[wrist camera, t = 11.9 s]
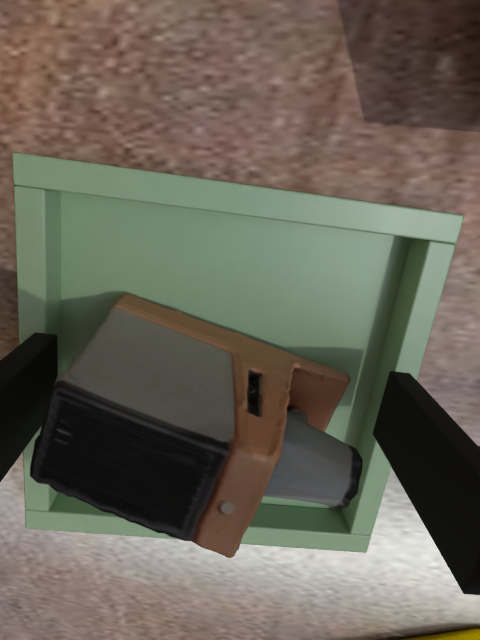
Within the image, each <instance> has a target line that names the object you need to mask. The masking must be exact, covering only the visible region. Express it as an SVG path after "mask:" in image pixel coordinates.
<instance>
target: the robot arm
mask: <svg viewBox="0 0 480 640" xmlns="http://www.w3.org/2000/svg"><path fill="white" fill-rule="evenodd" d="M57 376H58V349H57V335H54V334H45V333H36V332H35V333H34V334H32V335H31V336H30V337H29V338H28V339H26V340H25V341H24V342H23V343H22V344H20V345H19V346H18V347H17V348H15V349H14V350H13V351H12V352H11V353H9V354H8V355H7V356H6V357H5V358H3V359H2V360H1V361H0V482H1V480H2V479H3V478H4V476H5V475H6V474H7V472H8V471H9V470H10V468H11V467H12V465H13V464H14V463H15V461H16V460H17V459H18V457H19V456H20V455H21V453H22V452H23V450H24V449H25V448H26V446H27V445H28V444H29V442H30V441H31V440H32V438H33V437H34V435H35V434H36V433H37V431H38V430H39V429H40V427H41V426H42V422H43V419H44V415H45V412H46V409H47V404H48V400H49V398H50V396H51V394H52V391H53V388H54V385H55V381H56V379H57ZM373 435H374V437H375V439H376V441H377V442H378V444H379V446H380V448H381V449H382V451H383V453H384V455H385V456H386V458H387V460H388V462H389V463H390V465H391V467H392V469H393V470H394V472H395V474H396V476H397V477H398V479H399V481H400V483H401V485H402V486H403V488H404V490H405V492H406V493H407V495H408V497H409V499H410V500H411V502H412V504H413V506H414V507H415V509H416V511H417V513H418V514H419V516H420V518H421V520H422V521H423V523H424V525H425V527H426V528H427V530H428V532H429V534H430V535H431V537H432V539H433V541H434V542H435V544H436V546H437V548H438V549H439V551H440V553H441V555H442V556H443V558H444V560H445V562H446V563H447V565H448V567H449V569H450V570H451V572H452V574H453V576H454V577H455V579H456V581H457V583H458V584H459V586H460V588H461V590H462V591H463V593H464V594H474V595H480V446H477V445H476V444H475V443H474V442H473V441H472V439H471V438H470V437H469V436H468V435H467V434H466V433H465V432H464V431H463V430H462V429H461V428H460V427H459V426H458V424H457V423H456V422H455V421H454V420H453V419H452V418H451V417H450V416H449V415H448V414H447V413H446V412H445V411H444V409H443V408H442V407H441V406H440V405H439V404H438V403H437V402H436V401H435V400H434V399H433V398H432V397H431V396H430V394H429V393H428V392H427V391H426V390H425V389H424V388H423V387H422V386H421V385H420V384H419V383H418V382H417V381H416V379H415V378H414V377H413V376H412V375H411V374H410V373H404V372H395V371H390V372H389V376H388V379H387V383H386V387H385V390H384V394H383V397H382V401H381V405H380V408H379V412H378V416H377V419H376V423H375V426H374V430H373Z"/></svg>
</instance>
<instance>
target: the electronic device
mask: <svg viewBox="0 0 480 640" xmlns="http://www.w3.org/2000/svg"><path fill="white" fill-rule="evenodd" d="M350 381H351V378H350V376H349V375H348V374H347V373H346V372H342V371H339V370H335V369H333V368H331V367H328V366H326V365H323V364H318V363H315V362H313V361H310V360H308V359H305V358H302V357H300V356H297V355H294V354H292V353H289V352H286V351H283V350H281V349H278V348H275V347H272V346H270V345H267V344H265V343H262V342H260V341H257V340H255V339H252V338H250V337H246V336H245V335H244V334H241V333H239V332H233V331H231V330H228V329H226V328H223V327H221V326H217V325H214V324H210V323H207V322H205V321H201V320H198V319H195V318H193V317H190V316H187V315H185V314H182V313H181V312H179V311H178V310H171V309H168V308H165V307H162V306H159V305H156V304H154V303H151V302H148V301H145V300H142V299H140V298H138V297H137V296H134V295H128V294H123V295H122V296H121V297H120V298H119V299H118V300H117V301H116V302H115V303H114V305H113V306H112V307H111V308H110V309H109V311H108V316H107V317H106V319H105V320H104V322H103V323H102V324H101V325H100V327H99V328H98V329H97V331H96V333H95V334H94V335H93V337H92V338H91V339H90V340H89V341H88V342H87V344H86V345H85V346H84V348H83V349H82V351H81V352H80V354H79V355H77V356H75V357H73V360H72V363H71V365H70V366H69V367H68V369H67V370H66V371H65V372H62V373H61V374H59V375H58V376H57V379H56V381H55V385H54V388H53V391H52V394H51V396H50V398H49V400H48V404H47V409H46V412H45V415H44V419H43V422H42V427H41V431H40V435H39V436H38V437H37V438H36V440H35V444H34V450H33V455H32V460H31V465H30V477H32V478H33V479H34V480H35V481H36V482H37V483H41V484H48V485H49V486H50V487H52V488H53V489H54V490H55V491H57V492H60V493H63V494H65V495H66V496H68V497H74V498H76V499H78V500H80V501H83V502H86V503H88V504H90V505H92V506H93V507H95V508H97V509H99V510H101V511H103V512H107V513H113V514H114V515H116V516H118V517H120V518H123V519H125V520H127V521H129V522H131V523H136V524H138V525H141V526H143V527H145V528H148V529H150V530H153V531H155V532H157V533H165V534H166V535H168V536H170V537H174V538H178V539H181V540H184V541H192V542H194V543H196V544H197V545H199V546H201V547H203V548H206V549H209V550H212V551H215V552H217V553H220V554H222V555H225V556H226V557H228V558H232V557H233V556H234V555H235V553H236V551H237V550H238V549H239V546H240V543H241V540H242V537H243V534H244V533H245V532H246V530H247V528H248V527H249V525H250V523H251V522H252V521H253V519H254V516H255V513H256V511H257V509H258V507H259V505H260V503H261V500H262V498H263V496H266V497H274V498H283V499H292V500H300V501H306V502H313V503H320V504H324V505H328V506H331V507H334V508H335V509H337V510H341V509H344V508H347V507H348V506H349V504H350V501H351V500H352V499H353V498H354V497H355V496H356V495H357V493H358V488H359V481H360V477H361V473H362V466H363V459H362V457H361V456H360V454H359V452H358V451H357V449H356V448H354V447H352V446H350V445H348V444H346V443H344V442H342V441H340V440H338V439H337V438H335V437H333V436H331V435H329V434H327V433H325V432H324V431H325V430H326V428H327V427H328V424H329V422H330V420H331V418H332V415H333V413H334V411H335V409H336V407H337V406H338V404H339V402H340V400H341V398H342V396H343V394H344V392H345V390H346V388H347V386H348V384H349V383H350Z"/></svg>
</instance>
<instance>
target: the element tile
mask: <svg viewBox="0 0 480 640" xmlns="http://www.w3.org/2000/svg"><path fill="white" fill-rule="evenodd" d="M401 640H480V628H477V629H467V630H460V631H453V632H447V633H440V634H434V635H427V636H420V637H414V638H407V639H401Z"/></svg>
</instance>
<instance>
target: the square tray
mask: <svg viewBox="0 0 480 640" xmlns="http://www.w3.org/2000/svg"><path fill="white" fill-rule="evenodd" d="M13 182H14V184H15V185H17V186H14V203H15V232H16V261H17V290H18V319H19V345H20V344H22V343H23V342H24V341H25V340H26V339H28V338H29V337H30V336H31V335H32V334H34V333H35V332H36V333H45V334H54V335H57V349H58V375H59V374H61V373H62V372H65V371H66V370H67V369H68V367H69V366H70V365H71V363H72V360H73V357H75V356H77V355H79V354H80V352H81V351H82V349H83V348H84V346H85V345H86V344H87V342H88V341H89V340H90V339H91V338H92V337H93V335H94V334H95V333H96V331H97V329H98V328H99V327H100V325H101V324H102V323H103V322H104V320H105V319H106V317H107V316H108V311H109V309H110V308H111V307H112V306H113V305H114V303H115V302H116V301H117V300H118V299H119V298H120V297H121V296H122V295H123V294H128V295H134V296H137V297H138V298H140V299H142V300H145V301H148V302H151V303H154V304H156V305H159V306H162V307H165V308H168V309H171V310H178V311H179V312H181V313H182V314H185V315H187V316H190V317H193V318H195V319H198V320H201V321H205V322H207V323H210V324H214V325H217V326H221V327H223V328H226V329H228V330H231V331H233V332H239V333H241V334H244V335H245V336H246V337H250V338H252V339H255V340H257V341H260V342H262V343H265V344H267V345H270V346H272V347H275V348H278V349H281V350H283V351H286V352H289V353H292V354H294V355H297V356H300V357H302V358H305V359H308V360H310V361H313V362H315V363H318V364H323V365H326V366H328V367H331V368H333V369H335V370H339V371H342V372H346V373H347V374H348V375H349V376H350V378H351V381H350V383H349V384H348V386H347V388H346V390H345V392H344V394H343V396H342V398H341V400H340V402H339V404H338V406H337V407H336V409H335V411H334V413H333V415H332V418H331V420H330V422H329V424H328V427H327V428H326V430H325V431H324V432H325V433H327V434H329V435H331V436H333V437H335V438H337V439H338V440H340V441H342V442H344V443H346V444H348V445H350V446H352V447H354V448H356V449H357V451H358V452H359V454H360V456H361V457H362V459H363V466H362V473H361V477H360V481H359V488H358V493H357V495H356V496H355V497H354V498H353V499H352V500H351V501H350V504H349V506H348V507H347V508H344V509H341V510H337V509H335V508H334V507H331V506H328V505H324V504H320V503H313V502H306V501H300V500H292V499H283V498H274V497H266V496H263V498H262V500H261V503H260V505H259V507H258V509H257V511H256V513H255V516H254V519H253V521H252V522H251V523H250V525H249V527H248V528H247V530H246V532H245V533H244V534H243V537H242V540H241V543H240V544H252V545H266V546H280V547H294V548H308V549H322V550H336V551H350V552H364V553H365V552H367V548H368V545H369V541H370V538H371V534H372V531H373V528H374V524H375V521H376V517H377V514H378V511H379V507H380V504H381V500H382V497H383V493H384V490H385V486H386V483H387V480H388V476H389V473H390V469H391V465H390V463H389V462H388V460H387V458H386V456H385V455H384V453H383V451H382V449H381V448H380V446H379V444H378V442H377V441H376V439H375V437H374V435H373V430H374V426H375V423H376V419H377V416H378V412H379V408H380V405H381V401H382V397H383V394H384V390H385V387H386V383H387V379H388V376H389V372H390V371H395V372H404V373H410V374H411V375H412V376H413V377H414V378H415V379H416V380H417V377H418V373H419V370H420V366H421V363H422V359H423V356H424V353H425V349H426V346H427V342H428V339H429V335H430V332H431V329H432V325H433V322H434V318H435V315H436V311H437V308H438V305H439V301H440V298H441V294H442V291H443V287H444V284H445V281H446V277H447V274H448V270H449V267H450V263H451V260H452V257H453V253H454V250H455V243H457V240H458V236H459V233H460V229H461V226H462V223H463V219H464V215H462V214H455V213H447V212H440V211H433V210H426V209H419V208H412V207H404V206H397V205H390V204H383V203H376V202H368V201H361V200H354V199H347V198H340V197H333V196H325V195H318V194H311V193H304V192H297V191H290V190H282V189H275V188H268V187H261V186H254V185H247V184H239V183H232V182H225V181H218V180H211V179H204V178H196V177H189V176H182V175H175V174H168V173H161V172H153V171H146V170H139V169H132V168H125V167H118V166H110V165H103V164H96V163H89V162H82V161H75V160H67V159H60V158H53V157H46V156H39V155H32V154H24V153H17V152H14V153H13ZM41 427H42V426H41ZM41 427H40V429H39V430H38V431H37V433H36V434H35V435H34V437H33V438H32V440H31V441H30V442H29V444H28V445H27V446H26V448H25V449H24V450H23V464H24V493H25V509H26V510H25V525H26V528H28V529H42V530H56V531H70V532H84V533H98V534H112V535H126V536H140V537H154V538H168V539H178V538H174V537H170V536H168V535H166V534H165V533H157V532H155V531H153V530H150V529H148V528H145V527H143V526H141V525H138V524H136V523H131V522H129V521H127V520H125V519H123V518H120V517H118V516H116V515H114V514H113V513H107V512H103V511H101V510H99V509H97V508H95V507H93V506H92V505H90V504H88V503H86V502H83V501H80V500H78V499H76V498H74V497H68V496H66V495H65V494H63V493H60V492H57V491H55V490H54V489H53V488H52V487H50V486H49V485H48V484H41V483H37V482H36V481H35V480H34V479H33V478H32V477H30V465H31V460H32V455H33V450H34V444H35V440H36V438H37V437H38V436H39V435H40V431H41Z"/></svg>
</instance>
